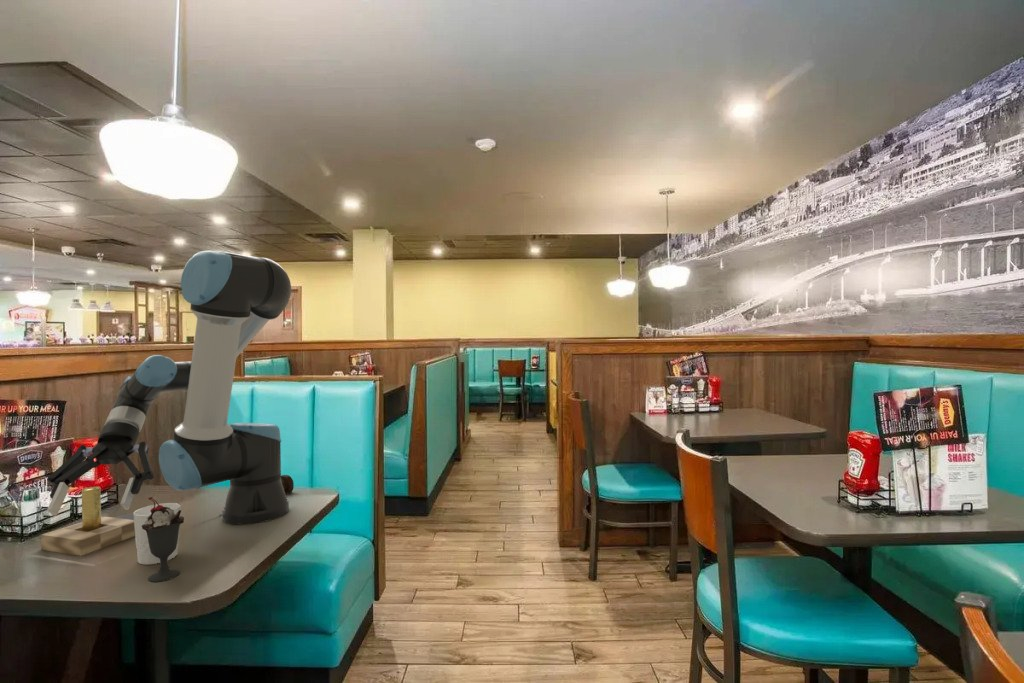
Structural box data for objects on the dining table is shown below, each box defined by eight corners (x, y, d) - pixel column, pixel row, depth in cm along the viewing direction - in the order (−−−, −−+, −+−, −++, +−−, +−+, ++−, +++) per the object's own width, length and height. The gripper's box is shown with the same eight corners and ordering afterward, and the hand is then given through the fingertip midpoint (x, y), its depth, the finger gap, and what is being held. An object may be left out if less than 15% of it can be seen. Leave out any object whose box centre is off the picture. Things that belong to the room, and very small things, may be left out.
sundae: (136, 578, 96) (134, 497, 96) (176, 565, 101) (175, 488, 101) (149, 588, 92) (147, 503, 92) (190, 574, 97) (189, 494, 97)
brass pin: (105, 541, 115) (103, 487, 115) (89, 546, 112) (88, 491, 111) (95, 539, 116) (93, 486, 115) (79, 545, 112) (77, 490, 112)
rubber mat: (154, 518, 129) (154, 516, 129) (122, 529, 122) (122, 528, 122) (125, 515, 132) (125, 513, 132) (91, 525, 125) (91, 524, 125)
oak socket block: (138, 536, 117) (138, 520, 117) (81, 557, 106) (80, 540, 106) (101, 531, 121) (100, 516, 121) (41, 551, 110) (40, 534, 110)
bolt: (237, 512, 139) (287, 496, 152) (246, 505, 136) (296, 489, 149) (230, 492, 140) (280, 477, 153) (239, 485, 138) (289, 471, 151)
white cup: (181, 560, 104) (180, 510, 104) (132, 570, 100) (131, 518, 100) (181, 547, 110) (180, 500, 110) (135, 556, 106) (135, 507, 106)
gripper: (183, 435, 133) (158, 512, 118) (69, 441, 127) (29, 523, 112) (174, 417, 127) (147, 496, 113) (55, 423, 122) (11, 506, 107)
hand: (88, 509), depth 113 cm, fingers open, 13 cm apart
